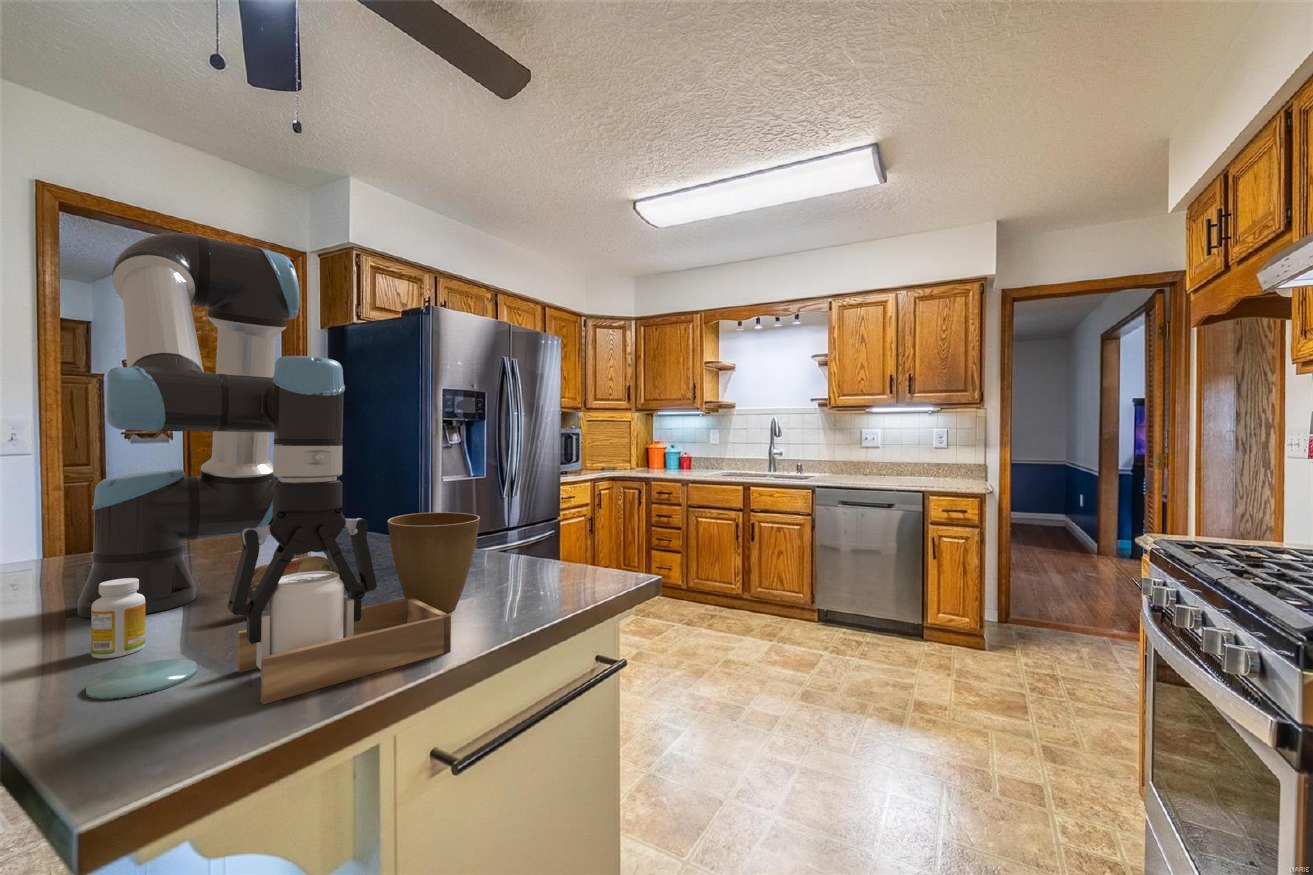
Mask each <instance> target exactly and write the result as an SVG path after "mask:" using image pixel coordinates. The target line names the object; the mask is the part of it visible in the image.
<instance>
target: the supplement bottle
mask: <svg viewBox="0 0 1313 875" xmlns="http://www.w3.org/2000/svg"><path fill="white" fill-rule="evenodd" d="M138 589H139V579H137V578H125V579H116V580H110V581H106V582H102V583H100V584H99V595H101V598H100V599H97V600H96V601H94V602H93V604H92V609H91V618H90V620H91V622H90V623H91V624H90V626H91V627H90V628H91V630H90V633H91V634H90V639H91V640H90V642H91V643H90V651H91V652H90V654H91V655H90V656H91V657H92V658H94V659H100V660H102V659H113V658H119V657H123V656H128V655H130V654H134V653H137V652H138V651H140V650H142V649H144V647H145V645H146V614H145V597H144V596H143V595H142V594H138V593H137V592H136V591H137V590H138Z"/></svg>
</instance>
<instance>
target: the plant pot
mask: <svg viewBox="0 0 1313 875" xmlns="http://www.w3.org/2000/svg"><path fill="white" fill-rule="evenodd" d="M480 520H481V517H480V515H477V514H471V513H466V512H465V513H463V512H443V511H442V512H441V511H439V512H420V513H419V512H418V513H410V514H403V515H397V516H394V517H391V518H389V519H387V521H386V522H387V528H388V534H389V541H390V547H391V553H392V558H393V561H394V566H395V570H396V575H397V578H398V580H399V584H400V585H399V586H400V587H401V590H402V593H403V596H404V598H409V597H412V598H414V599H416V600H418V601H420V602H423V603H425V604H427V605H429V606H431V607H433V608H435V609H438V610H440V611H442V612H444V613H446V614H448V613H450V612H453V611H455V609H456V608H457V607H458V603H459V601H460V598H461V596H462V593H463V591H464V588H465V586H466V585H465V584H466V582H467V579H468V576H469V572H470V568H471V565H472V562H473V557H474V553H475V548H476V544H477V538H478V535H479V534H478V533H479V527H480Z"/></svg>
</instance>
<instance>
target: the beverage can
mask: <svg viewBox="0 0 1313 875" xmlns="http://www.w3.org/2000/svg"><path fill="white" fill-rule="evenodd" d="M339 577H340V574H339V573H337V572H331V571H312V572H302V573H296V574H290V575H286V576H283V577H281V579H280V580H279V582H278V584H277V586H276V588H275V590H274V592H273V594H272V595H271V597H270V599H269V615H270V655H273V654H278V653H282V652H286V651H291V650H295V649H299V648H304V647H308V646H312V645H317V644H321V643H325V642H330V641H334V640H338V639H343V620H344V596H345V588H344V584H343V582H342V580H341V579H340V578H339Z"/></svg>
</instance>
